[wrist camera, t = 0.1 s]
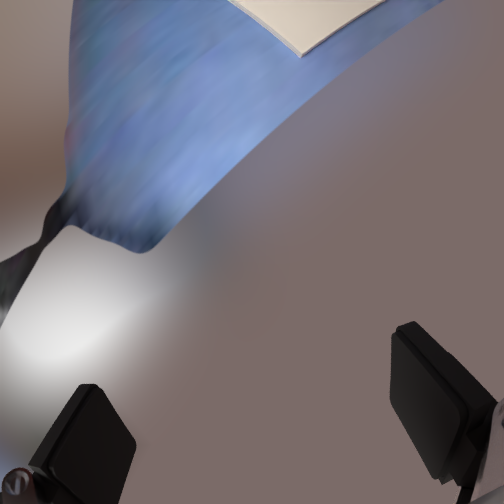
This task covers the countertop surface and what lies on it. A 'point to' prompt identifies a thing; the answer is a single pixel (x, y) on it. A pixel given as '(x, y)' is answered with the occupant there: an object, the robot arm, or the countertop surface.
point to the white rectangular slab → (304, 18)
